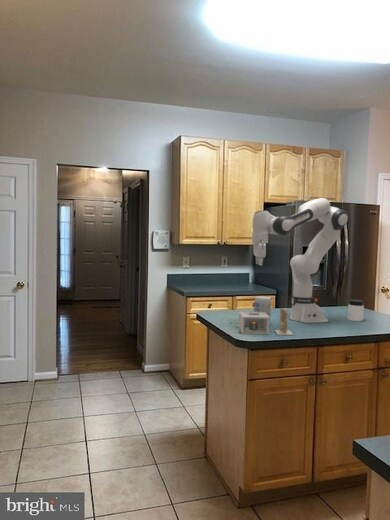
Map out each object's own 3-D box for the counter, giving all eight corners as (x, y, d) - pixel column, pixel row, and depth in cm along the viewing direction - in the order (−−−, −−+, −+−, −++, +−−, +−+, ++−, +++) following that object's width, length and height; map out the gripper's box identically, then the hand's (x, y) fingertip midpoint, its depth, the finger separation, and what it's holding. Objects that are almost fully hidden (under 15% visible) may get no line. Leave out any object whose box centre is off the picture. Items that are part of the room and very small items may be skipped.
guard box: (264, 327, 224) (264, 311, 224) (268, 334, 210) (269, 317, 210) (238, 327, 224) (239, 311, 223) (241, 333, 210) (242, 316, 209)
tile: (289, 331, 216) (289, 330, 216) (293, 335, 208) (293, 334, 208) (274, 331, 216) (274, 329, 216) (277, 335, 208) (277, 333, 208)
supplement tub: (251, 323, 235) (252, 297, 234) (255, 320, 243) (256, 295, 242) (268, 325, 231) (269, 299, 230) (271, 321, 240) (272, 297, 239)
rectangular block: (285, 331, 214) (286, 308, 213) (286, 332, 211) (287, 309, 210) (279, 331, 214) (280, 308, 213) (280, 332, 211) (281, 309, 210)
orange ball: (256, 328, 219) (256, 321, 219) (257, 330, 215) (258, 322, 215) (249, 328, 219) (249, 320, 219) (250, 330, 215) (250, 322, 215)
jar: (345, 318, 256) (346, 299, 255) (358, 318, 256) (359, 299, 256) (351, 321, 247) (352, 301, 246) (365, 321, 247) (366, 301, 247)
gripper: (269, 240, 217) (268, 266, 217) (262, 239, 237) (261, 263, 238) (257, 240, 216) (256, 266, 217) (251, 239, 237) (250, 263, 238)
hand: (259, 264), depth 228 cm, fingers open, 8 cm apart
